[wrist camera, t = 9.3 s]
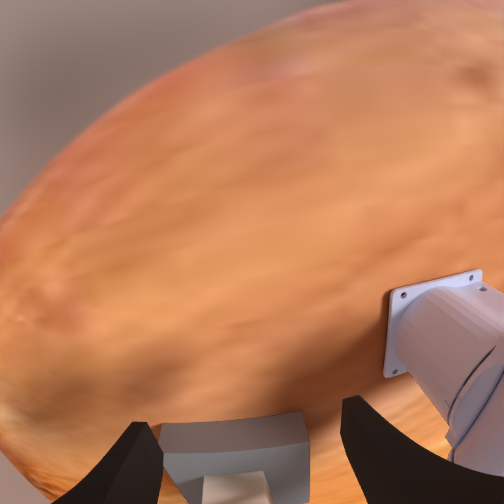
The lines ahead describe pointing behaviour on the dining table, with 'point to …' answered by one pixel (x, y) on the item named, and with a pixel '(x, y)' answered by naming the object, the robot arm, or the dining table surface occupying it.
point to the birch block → (237, 489)
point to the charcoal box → (240, 454)
